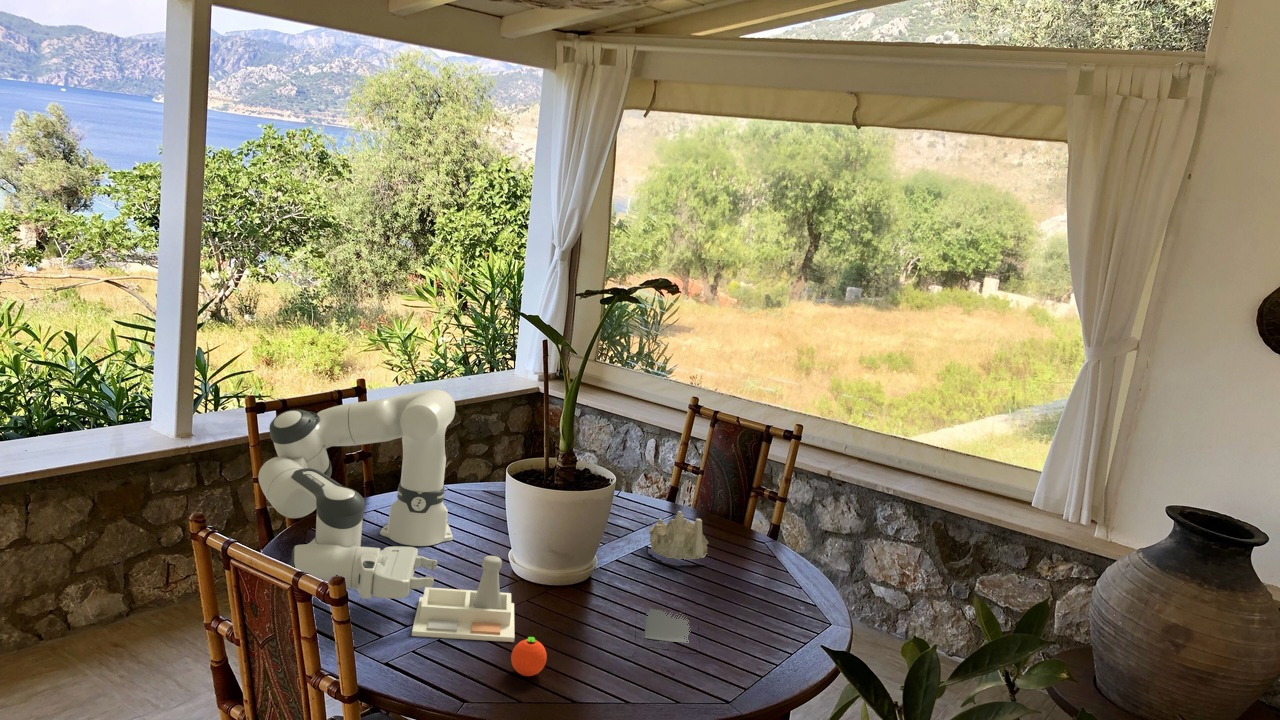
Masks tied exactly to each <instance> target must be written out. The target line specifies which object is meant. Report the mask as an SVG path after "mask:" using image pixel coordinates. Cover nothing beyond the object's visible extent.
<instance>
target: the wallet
mask: <svg viewBox="0 0 1280 720" xmlns="http://www.w3.org/2000/svg"><path fill="white" fill-rule="evenodd" d="M649 609H650V611H649V612H648V613H647V614H646V615H648V616H647V617H646V618H645V631H644V639H647V640H652V641H658V642H659V641H664V642H665V641H667V642H682V643H683V642H684V643H689V640H688V635H689V633H690V632H691V631H690V629H691V628H690V629H689V627H690V626H689V624H688V622H689V620H688V619H686V618H687V617H686V618H685V619H686V620H685V619H684V617H685V616H684V617H683V618H682V616H683V615H684V614H683V615H682V616H681V617H680V618H679V616H680V615H679V616H678V617H677V616H676V617H677V619H676V617H675V615H676V614H675V615H674V616H673V617H672V618H671V616H672V614H673V613H672V614H671V612H672V611H671V612H670V613H669V614H668V615H667V613H668V612H667V613H666V611H667V610H664V611H665V612H663V609H657V610H656V609H655V608H649ZM661 610H662V611H661ZM665 613H666V614H665ZM679 613H680V614H681V613H682V612H679ZM670 614H671V615H670ZM666 615H667V616H666ZM677 615H678V614H677ZM674 617H675V618H674ZM678 618H679V619H678ZM681 618H682V619H681ZM683 619H684V620H683ZM687 620H688V621H687ZM689 623H690V622H689ZM687 624H688V625H687ZM688 629H689V630H688ZM689 631H690V632H689ZM684 636H685V637H684ZM686 637H687V638H686ZM684 638H685V639H684ZM686 639H687V640H686ZM686 641H688V642H686Z"/></svg>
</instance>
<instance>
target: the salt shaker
mask: <svg viewBox="0 0 1280 720" xmlns="http://www.w3.org/2000/svg"><path fill="white" fill-rule="evenodd" d="M481 567H482V569H483V571H482V574H481V578H480V581H479V585H478V587H477V590H476V591H477V593H476V597H475V600H474V607H475V608H482V609H497V610H499V608H500V592H501V590H500V575H499V574H500V573H499V572H500V570H501V569H502V567H503V560H502V558H500V557H499V556H497V555H496V556H495V555H487V556H484V557H483V558H482V561H481Z"/></svg>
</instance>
